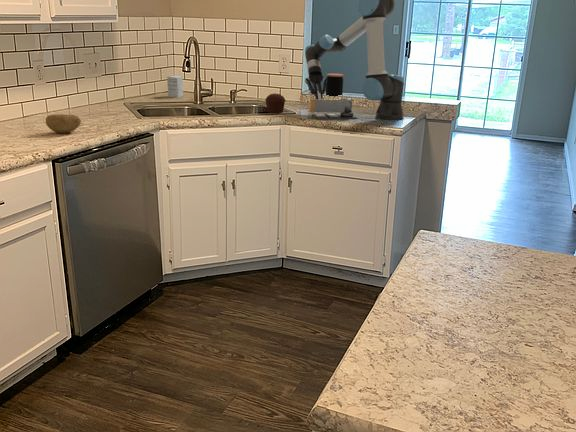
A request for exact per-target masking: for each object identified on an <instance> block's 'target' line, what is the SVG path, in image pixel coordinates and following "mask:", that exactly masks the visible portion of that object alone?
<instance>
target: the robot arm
mask: <svg viewBox="0 0 576 432" xmlns="http://www.w3.org/2000/svg"><path fill="white" fill-rule="evenodd" d="M395 5H396V4H395V0H358V1H357V10H358V11H357V12H359V13H360V15H362V16H361V17H360V18H358V19H357V20H356V21H355V22H354V23H353V24H351V25H350V26H349V27H348V28H347V29H345V30H344V31H342V32H341V34H339V35H338V36H337V37H335V38H333V37H332V36H331V35H329V34H324V35H323V36H322V37H320V38H319V40H317V41H316V43H315V44H309V45H307V46H305V49H304V56H305V60H306V65H307V73H308V75H307V76H308V77H306V78H305V79H304V83H305V84H306V85H307V87H308V89H309V92H310V94H311V95H314V100H323V98H324V95H325V94H326V83H327V80H328V79H327V77H326V78H325V77H324V75H323V71H322V67H321V66H322V65H321V61H320V59H321V57H323V56H324V55H325V54H327V53H344V52H346V51H347V50H348V47H349V45H351V44H352V43H353V42H354V41H355V40H358V39H359V38H360V37H361V36H362V35H363V34H366V50H367V66H368V67H367V69H368V71H367V73H366V74H365V80H364V81H363V83H362V85H361V90H362V94H363V95H364V97H365V98H366V99H368V100H369V101H376V102H377V101H379V104H378V107H377V110H376V112H375V118H378V119H383V120H390V121H391V120H395V121H397V119H399V120H403V119H404V117H405V116H404V114H405V113H404V109H403V105H402V104H403V101H402V100H403V92H404V84H405V79H404V76H402V75H397V74H389V73H388V71H387V70H386V64H385V61H386V60H385V44H384V43H385V42H384V40H385V39H384V21H385V20H386V19H387V18H388V17H390V16H391V14H392V13H393V11H394V10H395ZM322 83H323V84H322Z"/></svg>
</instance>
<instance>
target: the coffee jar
mask: <svg viewBox="0 0 576 432" xmlns="http://www.w3.org/2000/svg"><path fill="white" fill-rule="evenodd" d="M326 78H327V79H328V80H327V83H326V88H325V94H326V95H329V96H338V95H342V96H343V92H344V91H343V90H344V74H342V73H326Z"/></svg>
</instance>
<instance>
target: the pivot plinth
mask: <svg viewBox="0 0 576 432" xmlns="http://www.w3.org/2000/svg"><path fill="white" fill-rule="evenodd" d="M339 113H340V114H337V115H338V116H340V118H341V119H340V120H353V119H354V120H358V117H357V116H355V115H354V112H351V113H345V112H339Z"/></svg>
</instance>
